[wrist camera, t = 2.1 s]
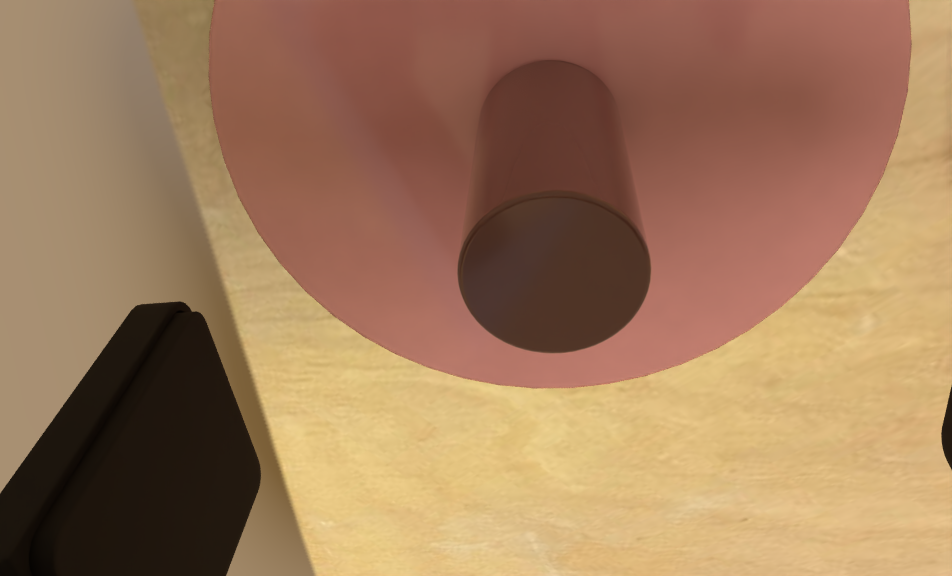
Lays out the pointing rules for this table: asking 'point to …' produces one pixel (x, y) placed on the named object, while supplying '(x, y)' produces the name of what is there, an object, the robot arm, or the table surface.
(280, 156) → the pink knobbed disc
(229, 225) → the table surface
